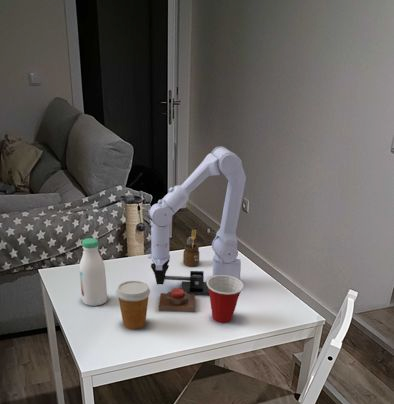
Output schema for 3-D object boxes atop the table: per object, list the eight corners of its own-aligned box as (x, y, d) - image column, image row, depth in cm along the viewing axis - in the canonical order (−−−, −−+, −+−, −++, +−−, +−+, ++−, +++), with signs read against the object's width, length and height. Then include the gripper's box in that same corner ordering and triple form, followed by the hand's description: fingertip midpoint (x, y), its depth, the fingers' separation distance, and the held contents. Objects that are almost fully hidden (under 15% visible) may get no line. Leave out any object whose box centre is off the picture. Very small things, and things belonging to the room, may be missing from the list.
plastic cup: (215, 331, 142) (218, 293, 136) (198, 314, 150) (199, 278, 144) (247, 323, 146) (251, 286, 140) (229, 307, 154) (231, 272, 148)
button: (183, 293, 155) (184, 288, 154) (183, 299, 151) (183, 294, 150) (171, 293, 155) (171, 288, 154) (170, 298, 151) (170, 293, 150)
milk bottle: (112, 298, 157) (108, 238, 146) (98, 308, 151) (93, 246, 140) (91, 293, 159) (86, 234, 149) (77, 303, 153) (71, 242, 143)
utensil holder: (181, 265, 181) (182, 234, 175) (185, 259, 186) (186, 229, 180) (197, 267, 180) (198, 236, 174) (200, 261, 185) (202, 230, 179)
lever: (155, 283, 161) (155, 274, 160) (156, 279, 164) (156, 271, 162) (200, 285, 162) (201, 277, 160) (200, 281, 164) (201, 273, 163)
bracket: (181, 294, 161) (181, 278, 158) (181, 284, 168) (182, 268, 164) (211, 295, 161) (212, 279, 158) (211, 285, 168) (211, 269, 165)
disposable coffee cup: (118, 316, 147) (117, 280, 141) (150, 316, 148) (150, 280, 142) (116, 333, 139) (114, 295, 133) (150, 332, 140) (150, 295, 133)
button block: (194, 298, 159) (195, 289, 157) (194, 312, 151) (194, 302, 149) (160, 297, 158) (160, 288, 157) (158, 311, 151) (158, 301, 149)
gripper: (149, 234, 162) (150, 272, 169) (145, 250, 149) (146, 290, 156) (171, 234, 162) (170, 272, 169) (168, 251, 149) (168, 291, 156)
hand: (160, 281), depth 163 cm, fingers closed on lever, 3 cm apart
